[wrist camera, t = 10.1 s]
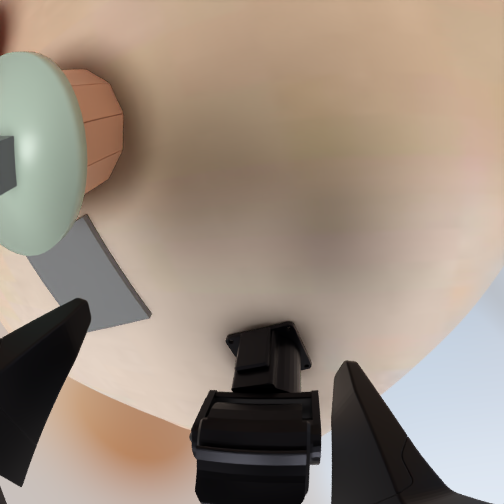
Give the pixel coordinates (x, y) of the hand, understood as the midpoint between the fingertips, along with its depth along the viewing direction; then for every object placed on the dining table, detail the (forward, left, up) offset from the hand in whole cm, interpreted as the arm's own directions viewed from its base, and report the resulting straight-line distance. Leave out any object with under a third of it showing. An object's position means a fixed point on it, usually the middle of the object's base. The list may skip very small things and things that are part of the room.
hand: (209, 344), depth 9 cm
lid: (+11, +11, -6) cm, 16 cm away
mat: (-1, +19, -12) cm, 22 cm away
